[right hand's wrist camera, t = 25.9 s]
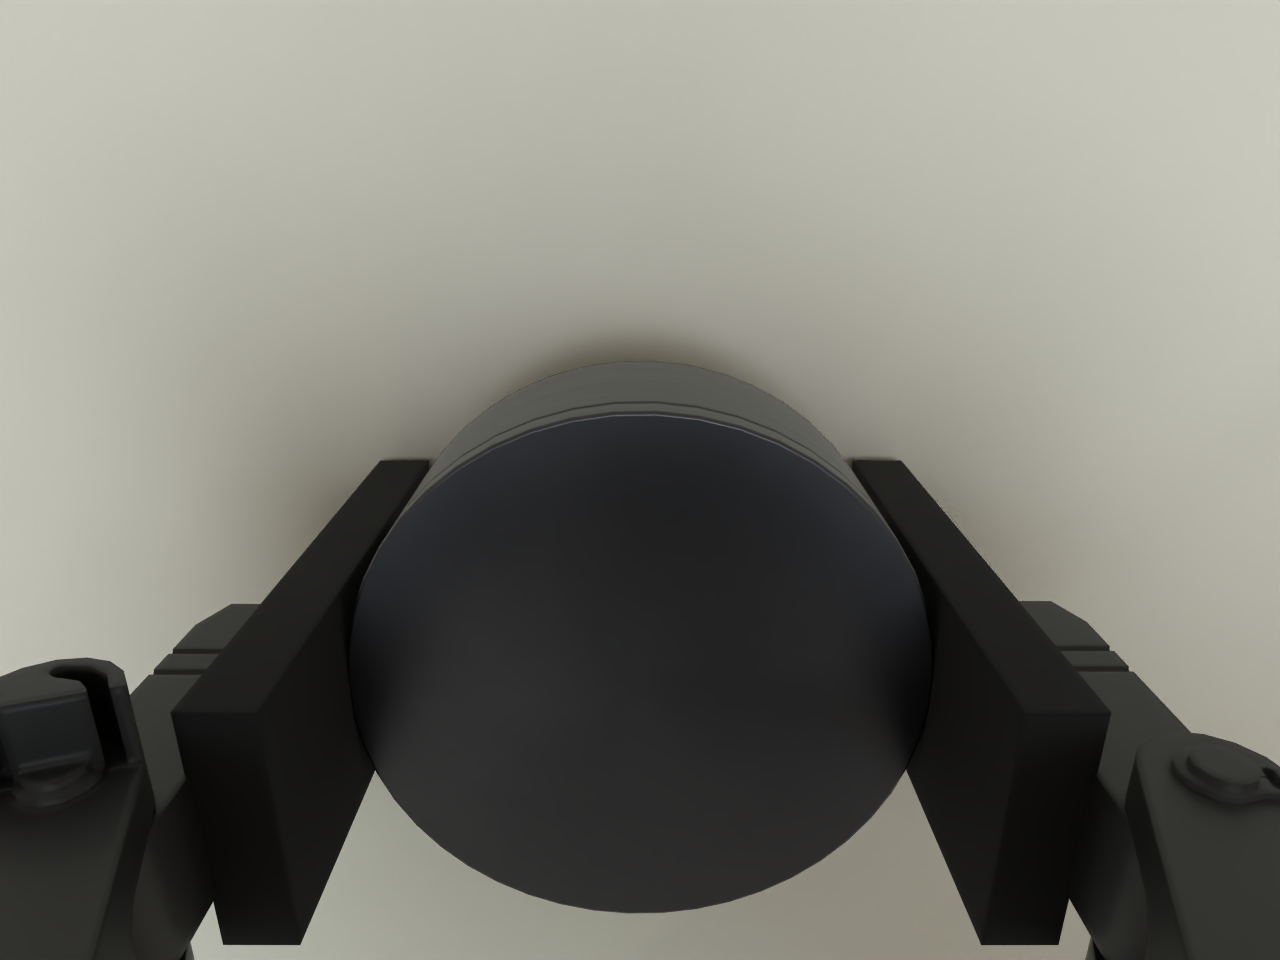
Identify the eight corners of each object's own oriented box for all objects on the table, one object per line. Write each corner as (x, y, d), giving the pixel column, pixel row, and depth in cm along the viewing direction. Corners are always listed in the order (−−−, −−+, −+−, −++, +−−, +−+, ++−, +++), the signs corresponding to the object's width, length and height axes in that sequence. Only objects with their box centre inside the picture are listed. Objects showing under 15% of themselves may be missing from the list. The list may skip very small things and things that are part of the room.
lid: (380, 757, 13) (329, 875, 11) (420, 316, 11) (366, 357, 9) (814, 819, 14) (846, 946, 11) (944, 410, 11) (1016, 472, 9)
